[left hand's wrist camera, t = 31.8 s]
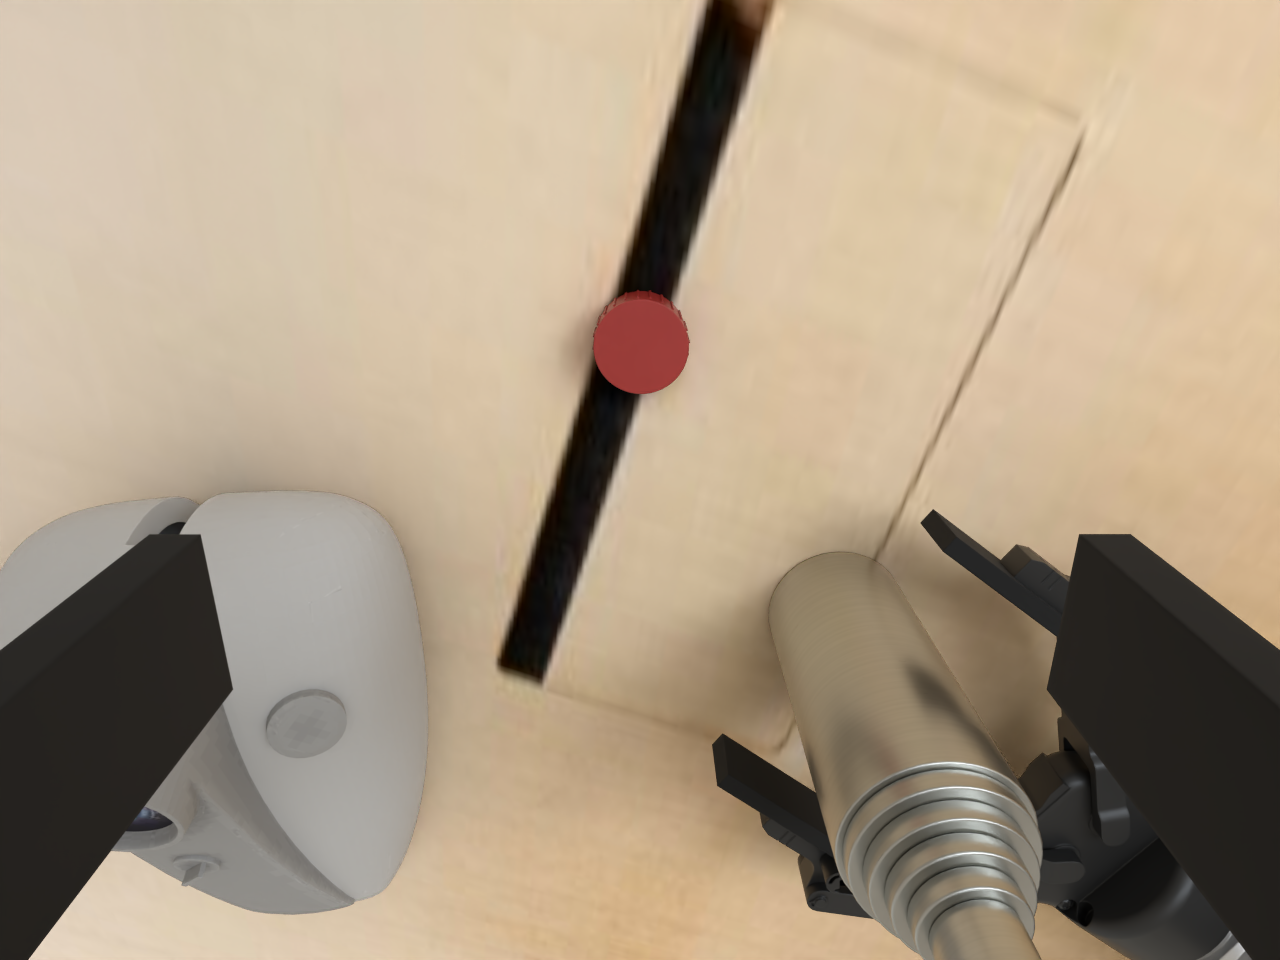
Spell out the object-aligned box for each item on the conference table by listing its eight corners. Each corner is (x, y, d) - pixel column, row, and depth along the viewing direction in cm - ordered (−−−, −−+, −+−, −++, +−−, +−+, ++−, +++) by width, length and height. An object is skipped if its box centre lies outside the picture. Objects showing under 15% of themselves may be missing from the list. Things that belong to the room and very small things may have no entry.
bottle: (765, 669, 42) (879, 1129, 22) (771, 552, 40) (904, 945, 20) (895, 668, 42) (1128, 1128, 22) (907, 550, 40) (1181, 943, 20)
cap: (620, 395, 37) (619, 411, 35) (579, 315, 36) (574, 325, 33) (701, 356, 36) (705, 369, 34) (662, 273, 35) (663, 281, 33)
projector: (-24, 697, 42) (-343, 951, 29) (185, 340, 36) (-96, 446, 22) (355, 901, 47) (237, 1204, 33) (598, 617, 41) (576, 846, 27)
